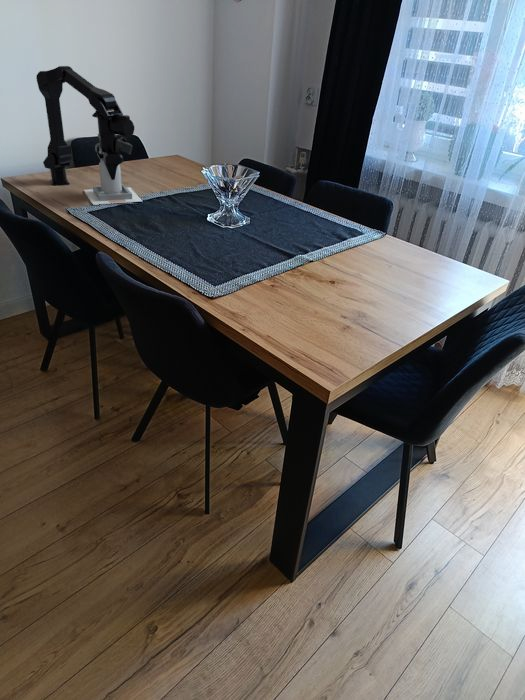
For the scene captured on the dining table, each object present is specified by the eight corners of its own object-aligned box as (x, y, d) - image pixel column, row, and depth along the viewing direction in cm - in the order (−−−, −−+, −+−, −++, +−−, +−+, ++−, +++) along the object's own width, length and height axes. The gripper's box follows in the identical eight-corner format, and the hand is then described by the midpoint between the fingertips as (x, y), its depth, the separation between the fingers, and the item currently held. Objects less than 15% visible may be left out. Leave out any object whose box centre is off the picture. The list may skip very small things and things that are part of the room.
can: (124, 190, 192) (122, 158, 185) (118, 195, 186) (115, 162, 179) (105, 188, 192) (102, 155, 185) (98, 193, 186) (95, 160, 179)
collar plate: (84, 191, 193) (83, 184, 191) (130, 188, 200) (129, 182, 199) (93, 205, 180) (92, 198, 178) (142, 202, 187) (142, 195, 186)
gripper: (136, 137, 174) (138, 182, 182) (123, 126, 187) (126, 169, 196) (103, 138, 169) (108, 184, 178) (92, 126, 182) (97, 170, 191)
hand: (110, 176), depth 186 cm, fingers closed on can, 7 cm apart
